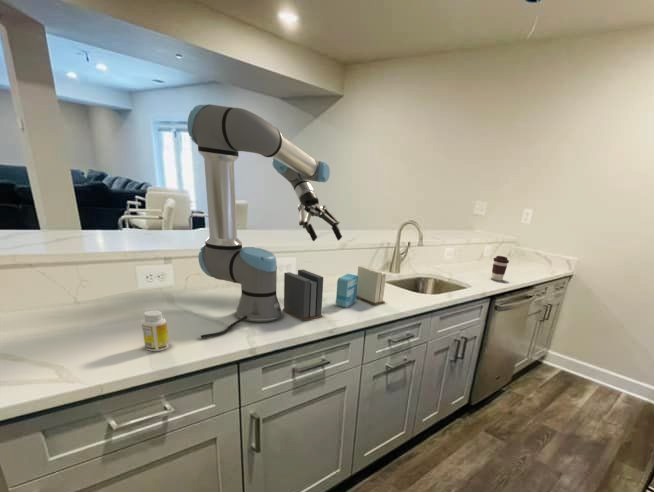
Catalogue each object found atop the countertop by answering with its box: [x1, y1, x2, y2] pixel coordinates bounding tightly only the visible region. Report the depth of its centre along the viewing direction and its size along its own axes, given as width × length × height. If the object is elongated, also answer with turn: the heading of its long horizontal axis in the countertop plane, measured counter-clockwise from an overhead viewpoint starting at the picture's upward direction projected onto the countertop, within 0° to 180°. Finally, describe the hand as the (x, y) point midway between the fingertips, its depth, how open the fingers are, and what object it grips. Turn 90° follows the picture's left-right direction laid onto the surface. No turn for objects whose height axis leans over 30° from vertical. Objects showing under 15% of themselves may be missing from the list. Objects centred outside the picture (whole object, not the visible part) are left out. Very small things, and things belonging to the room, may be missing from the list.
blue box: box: [335, 273, 358, 309], centre depth 162 cm, size 12×4×12 cm, turn 165°
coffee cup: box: [491, 255, 510, 282], centre depth 251 cm, size 10×10×15 cm
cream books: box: [356, 265, 387, 306], centre depth 170 cm, size 7×13×14 cm, turn 51°
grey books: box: [282, 268, 324, 322], centre depth 143 cm, size 8×13×15 cm, turn 51°
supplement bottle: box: [141, 310, 170, 352], centre depth 104 cm, size 6×6×10 cm
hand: (328, 238), depth 162 cm, fingers open, 13 cm apart
